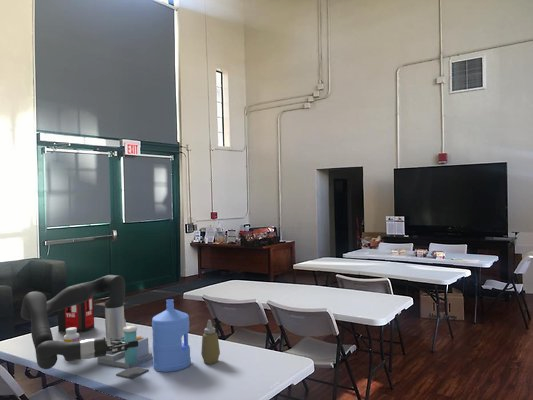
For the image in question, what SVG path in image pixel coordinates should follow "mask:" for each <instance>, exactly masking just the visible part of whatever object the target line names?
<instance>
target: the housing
mask: <svg viewBox="0 0 533 400" xmlns="http://www.w3.org/2000/svg"><path fill="white" fill-rule="evenodd" d="M149 351H150V350H149V337H145V336H141V340H139V341H138V347H137V362H136V363H134V364H125V351H122V352H118V353H112V352H111V351H106V356H104V357H97V358H96V359H97V360H96V361H97V363H98V364H104V365H109V366H114V367H118V368H123V369H128V368H130V367H132V366H134V367H137V366H138V365H140V364H142V363H144V362H146V361H148V360H151V359H152V358H153V353H152V352H149Z"/></svg>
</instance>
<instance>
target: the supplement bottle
mask: <svg viewBox="0 0 533 400" xmlns="http://www.w3.org/2000/svg"><path fill="white" fill-rule="evenodd" d="M76 331H77V328H76V327H71V328H67V329H66V332H65V333H66V334H65V335H64V336H63V342H75V341H80V333H79V332H76Z"/></svg>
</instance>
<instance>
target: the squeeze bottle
mask: <svg viewBox="0 0 533 400" xmlns="http://www.w3.org/2000/svg"><path fill="white" fill-rule="evenodd" d="M220 350H221V349H220V343H219V336H218V332H216V328H215V327H214V326H213V323H212V320H211V319H208V320H207V324H206V327H205V328H204V333H203V334H202V340H201V357H202V360H203V363H205V364H208V365H211V364H215V363H218V361H219V358H220V354H221V351H220Z"/></svg>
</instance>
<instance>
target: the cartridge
mask: <svg viewBox="0 0 533 400" xmlns="http://www.w3.org/2000/svg"><path fill="white" fill-rule="evenodd" d="M137 331H138V326H137V325H126V327H124V328H123V332H124V342H132V341H137V337H136V336H137ZM136 362H137V347H131V348H129V349H127V350H126V351H125V364H134V363H136Z"/></svg>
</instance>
